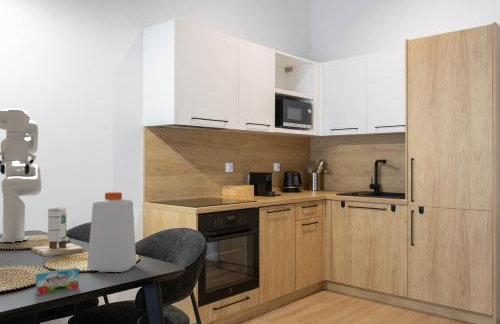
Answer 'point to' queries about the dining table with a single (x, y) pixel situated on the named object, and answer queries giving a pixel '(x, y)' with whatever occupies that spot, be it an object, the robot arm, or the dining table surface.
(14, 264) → the dining table surface
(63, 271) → the yogurt
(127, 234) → the plastic bottle
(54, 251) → the peg stand
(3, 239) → the robot arm
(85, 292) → the dining table surface
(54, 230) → the syrup box
